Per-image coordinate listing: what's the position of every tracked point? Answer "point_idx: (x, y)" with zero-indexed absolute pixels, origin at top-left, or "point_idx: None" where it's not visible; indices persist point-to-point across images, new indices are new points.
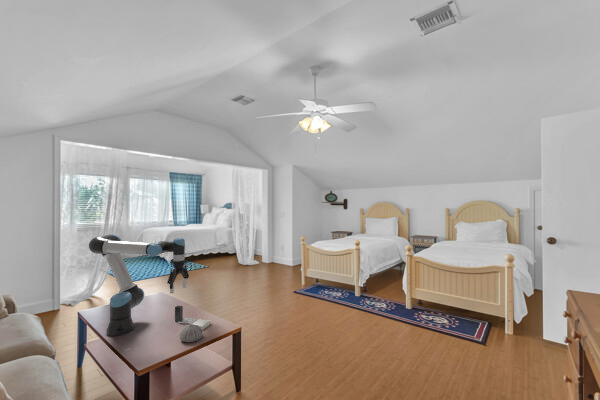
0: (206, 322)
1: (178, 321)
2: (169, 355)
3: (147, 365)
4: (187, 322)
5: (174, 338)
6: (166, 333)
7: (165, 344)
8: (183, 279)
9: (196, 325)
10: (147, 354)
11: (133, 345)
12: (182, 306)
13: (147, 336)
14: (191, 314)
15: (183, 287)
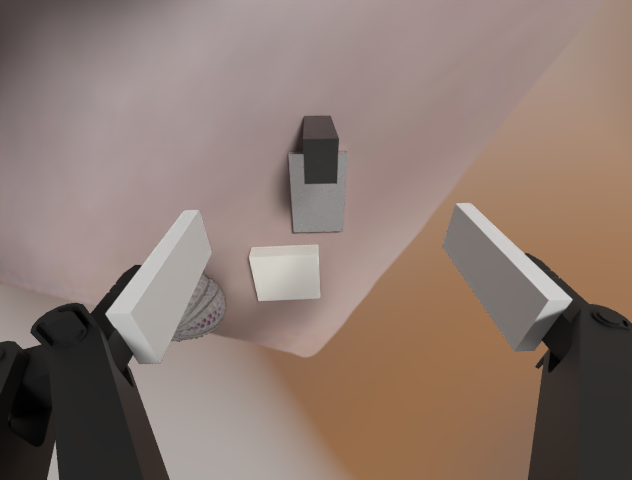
0: (296, 296)
1: (289, 157)
2: (73, 295)
3: None
4: (292, 210)
5: (157, 242)
6: (169, 180)
7: (104, 242)
8: (528, 300)
9: (189, 337)
10: (16, 233)
11: None
12: (335, 181)
13: (88, 105)
14: (415, 148)
15: (452, 216)
